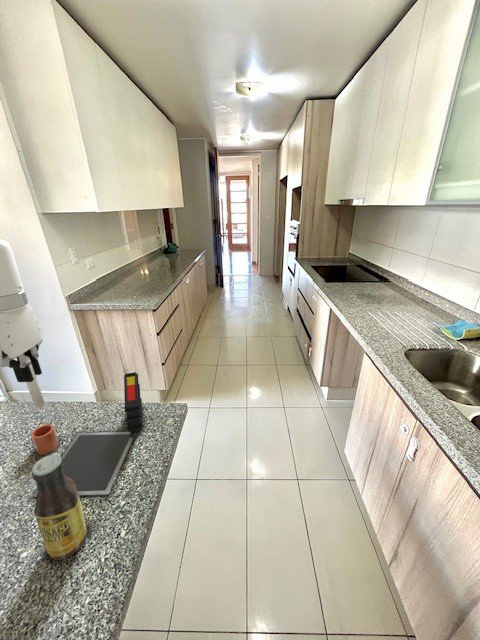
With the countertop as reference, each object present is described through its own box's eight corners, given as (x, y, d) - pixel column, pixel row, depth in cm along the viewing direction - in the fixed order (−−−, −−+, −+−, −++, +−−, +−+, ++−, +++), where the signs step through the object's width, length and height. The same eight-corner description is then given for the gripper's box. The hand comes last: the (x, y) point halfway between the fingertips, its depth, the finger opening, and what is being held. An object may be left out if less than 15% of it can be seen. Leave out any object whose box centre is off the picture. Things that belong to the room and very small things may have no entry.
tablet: (33, 499, 56) (32, 495, 56) (78, 435, 73) (78, 432, 72) (108, 497, 57) (108, 493, 56) (136, 434, 73) (136, 431, 73)
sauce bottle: (40, 563, 46) (6, 482, 39) (63, 524, 51) (36, 448, 44) (78, 563, 46) (50, 482, 39) (96, 524, 51) (75, 448, 44)
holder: (33, 456, 66) (26, 438, 64) (45, 442, 70) (39, 424, 68) (51, 455, 66) (45, 437, 64) (62, 441, 71) (57, 424, 68)
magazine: (141, 397, 86) (137, 370, 76) (144, 436, 77) (139, 411, 67) (129, 399, 85) (123, 373, 75) (131, 439, 76) (124, 415, 66)
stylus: (33, 410, 62) (15, 358, 57) (39, 404, 64) (21, 354, 59) (42, 410, 62) (24, 358, 57) (47, 404, 64) (31, 354, 59)
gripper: (14, 292, 61) (37, 361, 67) (-54, 315, 46) (-17, 400, 52) (47, 291, 61) (66, 360, 68) (-10, 314, 46) (21, 399, 53)
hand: (30, 377), depth 60 cm, fingers closed on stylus, 2 cm apart
